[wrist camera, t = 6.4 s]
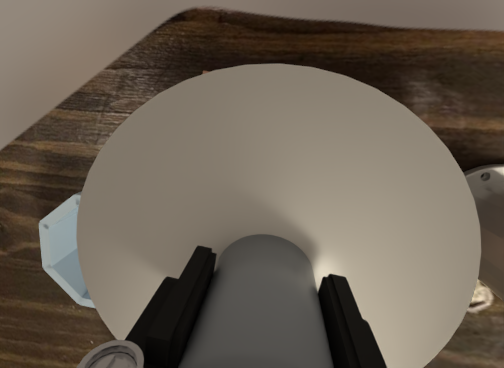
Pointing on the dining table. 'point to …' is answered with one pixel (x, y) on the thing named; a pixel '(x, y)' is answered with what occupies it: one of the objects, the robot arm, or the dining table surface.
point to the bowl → (64, 250)
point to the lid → (281, 217)
